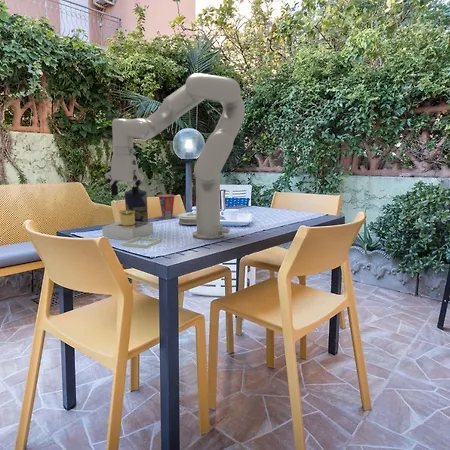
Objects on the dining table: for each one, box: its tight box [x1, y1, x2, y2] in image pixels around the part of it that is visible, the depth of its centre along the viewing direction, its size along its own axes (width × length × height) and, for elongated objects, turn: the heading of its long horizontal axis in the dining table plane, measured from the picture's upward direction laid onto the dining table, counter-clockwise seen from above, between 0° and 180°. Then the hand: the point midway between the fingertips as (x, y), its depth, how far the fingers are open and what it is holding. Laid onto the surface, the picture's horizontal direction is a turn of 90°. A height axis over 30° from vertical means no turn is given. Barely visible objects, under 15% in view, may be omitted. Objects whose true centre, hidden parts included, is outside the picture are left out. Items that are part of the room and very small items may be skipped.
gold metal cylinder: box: [119, 209, 135, 227], centre depth 142 cm, size 6×6×10 cm
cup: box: [157, 194, 176, 220], centre depth 183 cm, size 9×8×12 cm
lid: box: [178, 212, 197, 226], centre depth 169 cm, size 13×13×5 cm
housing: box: [102, 221, 154, 241], centre depth 142 cm, size 14×14×5 cm
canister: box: [124, 188, 149, 222], centre depth 157 cm, size 10×10×18 cm
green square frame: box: [121, 237, 162, 249], centre depth 129 cm, size 10×10×2 cm
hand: (125, 196), depth 139 cm, fingers open, 9 cm apart
